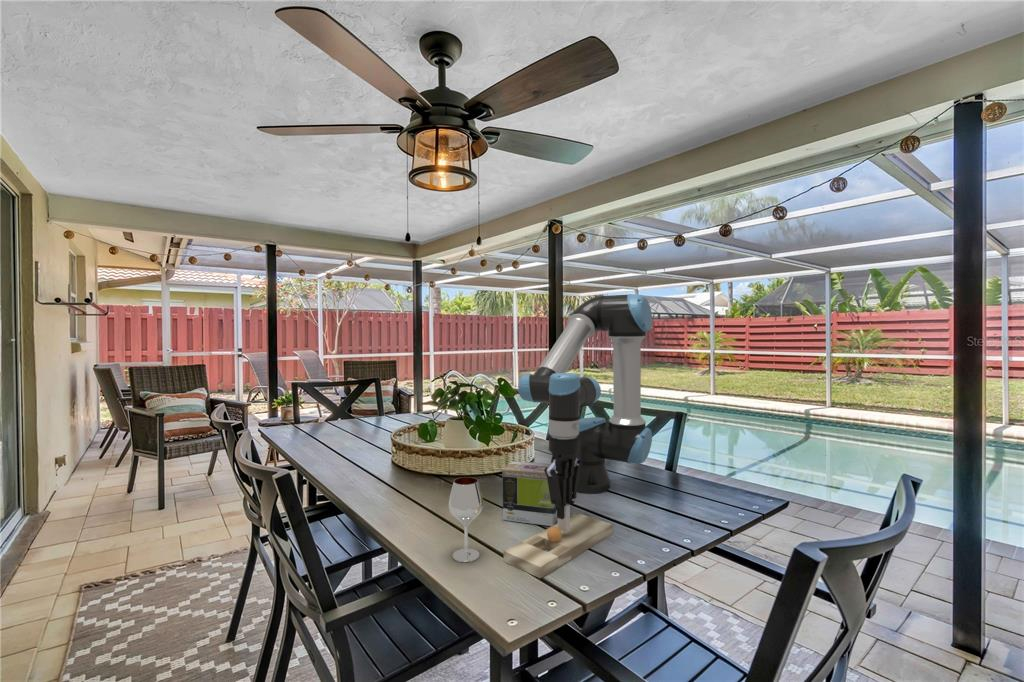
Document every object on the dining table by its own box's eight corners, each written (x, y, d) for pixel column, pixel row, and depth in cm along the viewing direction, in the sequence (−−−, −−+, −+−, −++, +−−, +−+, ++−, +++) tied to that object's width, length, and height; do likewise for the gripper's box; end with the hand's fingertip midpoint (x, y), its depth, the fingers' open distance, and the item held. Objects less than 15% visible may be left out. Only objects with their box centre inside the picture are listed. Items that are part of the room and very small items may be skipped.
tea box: (561, 514, 137) (562, 463, 137) (553, 528, 128) (553, 474, 127) (513, 507, 142) (513, 459, 142) (501, 520, 133) (501, 468, 132)
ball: (553, 534, 117) (544, 542, 115) (552, 522, 117) (543, 528, 114) (564, 539, 115) (556, 546, 112) (563, 526, 114) (555, 533, 112)
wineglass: (449, 548, 116) (449, 475, 116) (482, 547, 117) (482, 475, 116) (448, 565, 108) (447, 487, 107) (483, 563, 109) (483, 486, 108)
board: (503, 561, 110) (503, 550, 110) (577, 522, 132) (577, 513, 132) (540, 578, 102) (540, 567, 102) (612, 533, 124) (612, 524, 124)
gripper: (560, 443, 109) (560, 543, 110) (591, 433, 119) (590, 526, 120) (535, 437, 115) (535, 534, 115) (567, 429, 124) (566, 518, 125)
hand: (563, 529), depth 117 cm, fingers closed
